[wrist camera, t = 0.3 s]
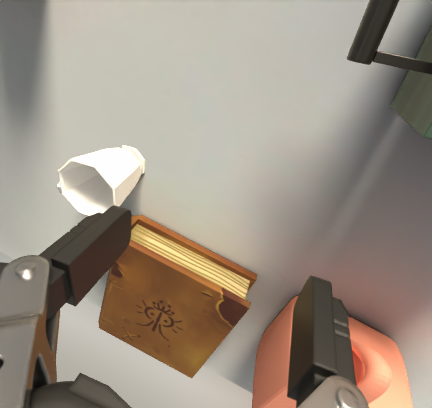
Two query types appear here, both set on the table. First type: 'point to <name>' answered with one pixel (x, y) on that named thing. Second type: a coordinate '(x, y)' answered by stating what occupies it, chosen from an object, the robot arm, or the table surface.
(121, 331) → the diary
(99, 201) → the cup
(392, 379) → the pink lidded sugar bowl
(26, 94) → the table surface
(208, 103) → the table surface
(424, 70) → the drawer
